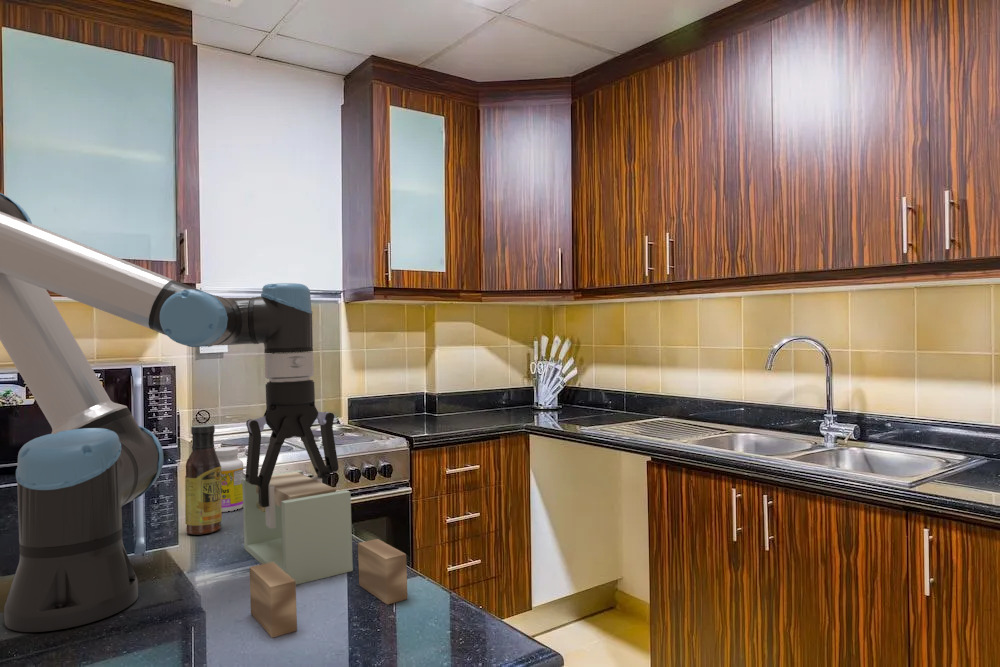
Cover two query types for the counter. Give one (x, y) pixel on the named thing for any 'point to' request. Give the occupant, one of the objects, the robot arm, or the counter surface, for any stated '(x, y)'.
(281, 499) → the shelf board
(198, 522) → the sauce bottle
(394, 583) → the blocks
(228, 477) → the supplement bottle
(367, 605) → the counter surface
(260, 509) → the shelf frame
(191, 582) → the counter surface
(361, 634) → the counter surface
